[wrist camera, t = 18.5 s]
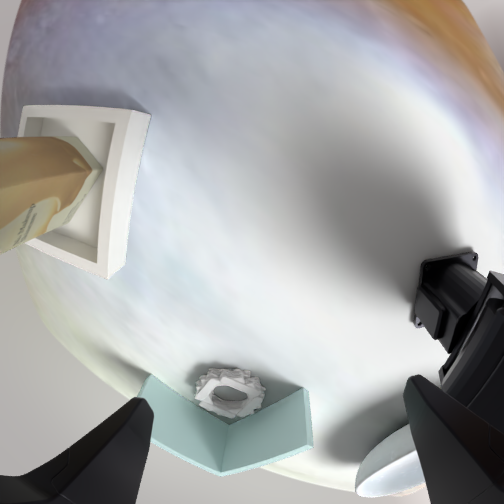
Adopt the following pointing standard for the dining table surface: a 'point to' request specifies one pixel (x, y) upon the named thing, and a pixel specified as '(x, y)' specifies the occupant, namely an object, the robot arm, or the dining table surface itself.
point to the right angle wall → (221, 434)
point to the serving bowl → (390, 466)
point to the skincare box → (41, 185)
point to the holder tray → (104, 189)
